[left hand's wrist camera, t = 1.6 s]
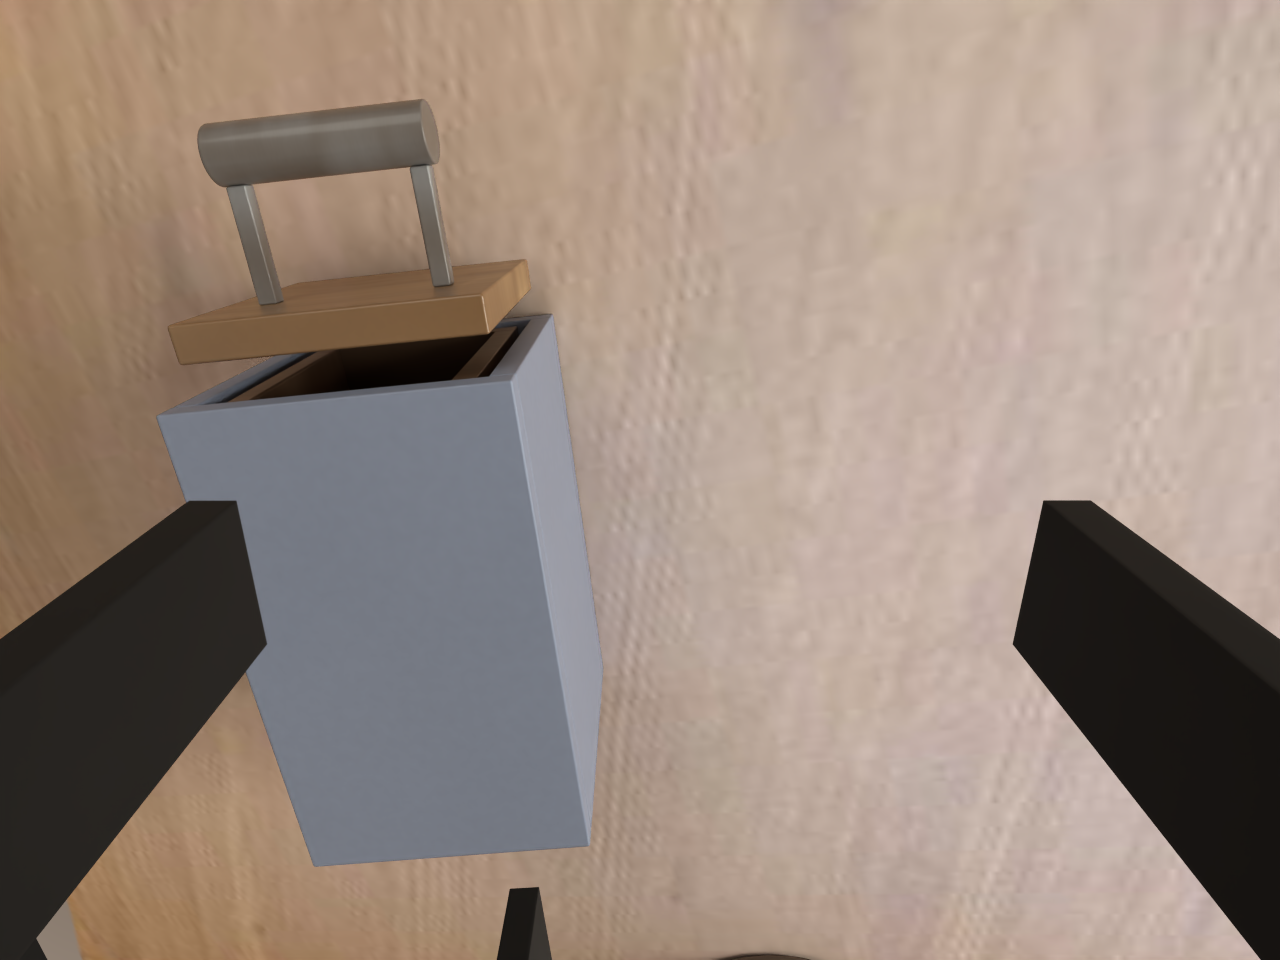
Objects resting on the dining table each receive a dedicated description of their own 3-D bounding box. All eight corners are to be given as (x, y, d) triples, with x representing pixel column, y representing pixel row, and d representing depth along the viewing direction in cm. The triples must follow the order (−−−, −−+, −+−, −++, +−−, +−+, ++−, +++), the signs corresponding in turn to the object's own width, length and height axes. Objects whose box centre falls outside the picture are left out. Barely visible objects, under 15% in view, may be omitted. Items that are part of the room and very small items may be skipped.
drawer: (258, 137, 29) (98, 123, 20) (504, 109, 29) (445, 83, 20) (389, 636, 37) (314, 776, 29) (581, 620, 37) (563, 756, 28)
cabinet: (307, 338, 33) (154, 415, 22) (552, 313, 32) (511, 380, 22) (398, 685, 39) (313, 867, 29) (603, 669, 39) (590, 846, 29)
